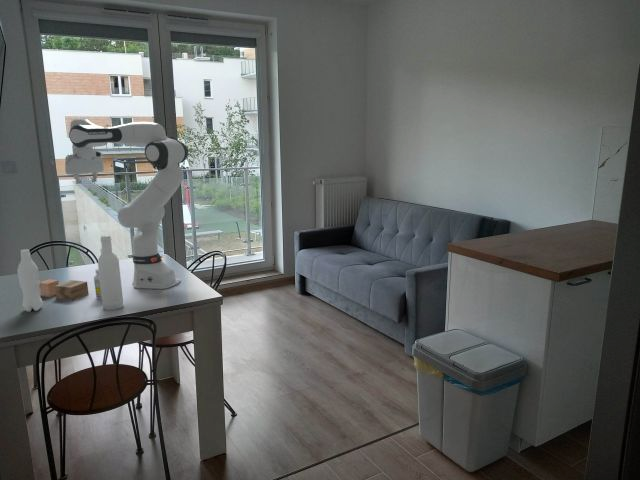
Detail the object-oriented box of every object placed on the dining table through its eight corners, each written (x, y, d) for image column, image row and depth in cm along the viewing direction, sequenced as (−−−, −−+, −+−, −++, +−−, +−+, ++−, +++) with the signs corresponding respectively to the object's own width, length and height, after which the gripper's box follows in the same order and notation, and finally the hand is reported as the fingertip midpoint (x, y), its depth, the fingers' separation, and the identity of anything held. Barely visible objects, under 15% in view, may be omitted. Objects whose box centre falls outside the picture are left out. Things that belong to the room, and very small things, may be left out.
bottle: (127, 304, 200) (120, 234, 193) (115, 311, 192) (107, 238, 186) (111, 303, 201) (103, 233, 195) (98, 309, 194) (90, 237, 188)
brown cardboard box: (60, 293, 216) (58, 280, 215) (49, 297, 211) (47, 283, 210) (50, 292, 218) (49, 279, 217) (40, 295, 213) (38, 282, 212)
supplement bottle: (114, 294, 213) (111, 266, 210) (110, 299, 207) (107, 270, 204) (98, 295, 212) (95, 267, 209) (94, 300, 206) (91, 271, 203)
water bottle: (21, 313, 191) (12, 253, 185) (24, 308, 197) (15, 249, 192) (42, 311, 193) (33, 251, 188) (44, 305, 200) (36, 247, 195)
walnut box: (88, 294, 214) (87, 281, 213) (72, 300, 206) (70, 287, 205) (73, 292, 217) (71, 280, 216) (56, 298, 209) (54, 285, 208)
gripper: (70, 154, 216) (74, 185, 219) (104, 153, 235) (107, 181, 238) (60, 154, 219) (63, 184, 221) (94, 153, 237) (97, 181, 240)
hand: (86, 182), depth 230 cm, fingers open, 8 cm apart
